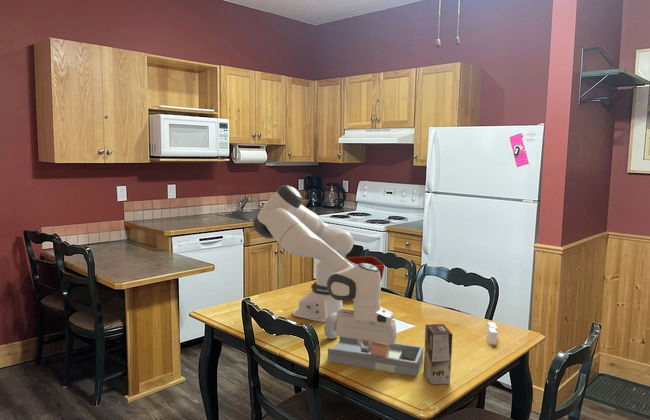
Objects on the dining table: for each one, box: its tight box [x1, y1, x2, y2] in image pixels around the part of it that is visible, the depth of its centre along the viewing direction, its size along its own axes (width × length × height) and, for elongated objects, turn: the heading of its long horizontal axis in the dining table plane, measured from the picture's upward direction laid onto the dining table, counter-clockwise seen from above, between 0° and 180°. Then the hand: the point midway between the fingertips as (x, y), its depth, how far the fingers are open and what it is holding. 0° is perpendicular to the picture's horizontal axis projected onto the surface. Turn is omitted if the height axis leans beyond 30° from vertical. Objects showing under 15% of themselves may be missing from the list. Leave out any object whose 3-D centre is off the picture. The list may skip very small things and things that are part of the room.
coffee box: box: [423, 323, 453, 385], centre depth 157 cm, size 9×6×16 cm
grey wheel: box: [323, 312, 339, 340], centre depth 188 cm, size 10×4×10 cm, turn 148°
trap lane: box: [327, 337, 425, 377], centre depth 169 cm, size 30×14×4 cm, turn 71°
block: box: [371, 342, 389, 357], centre depth 165 cm, size 5×5×5 cm
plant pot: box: [345, 256, 385, 281], centre depth 246 cm, size 19×19×17 cm
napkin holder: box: [486, 321, 499, 346], centre depth 190 cm, size 15×11×6 cm
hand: (365, 352), depth 167 cm, fingers closed
